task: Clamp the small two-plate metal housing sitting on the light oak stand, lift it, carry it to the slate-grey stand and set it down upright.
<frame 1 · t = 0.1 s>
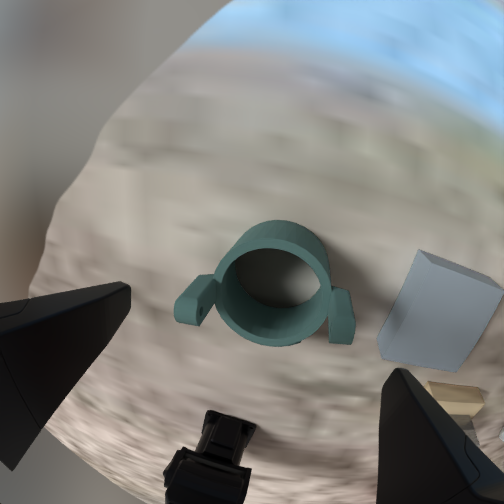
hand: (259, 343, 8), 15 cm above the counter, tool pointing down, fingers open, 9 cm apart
housing: (439, 427, 22), point 3 cm above the counter, touching stand oak
stand oak: (434, 409, 25), on the counter
stand slate: (436, 308, 21), on the counter
bracket: (279, 272, 24), on the counter
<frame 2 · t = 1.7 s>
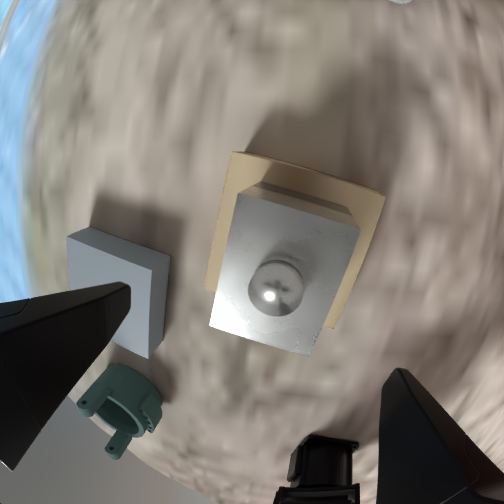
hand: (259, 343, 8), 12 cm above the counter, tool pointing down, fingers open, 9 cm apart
housing: (288, 246, 17), point 3 cm above the counter, touching stand oak
stand oak: (292, 232, 19), on the counter
stand slate: (123, 285, 24), on the counter
bracket: (136, 388, 30), on the counter
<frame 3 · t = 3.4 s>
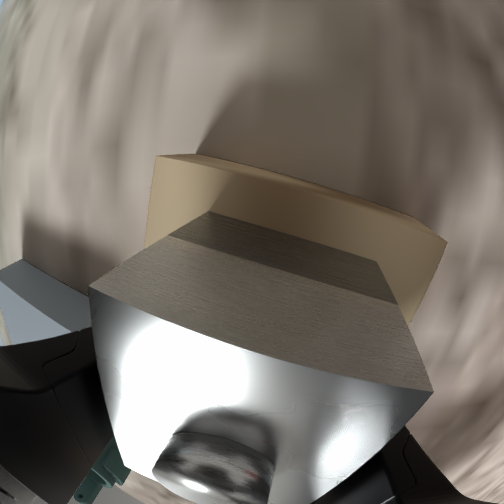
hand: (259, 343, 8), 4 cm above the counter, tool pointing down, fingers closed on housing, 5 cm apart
housing: (264, 328, 9), point 3 cm above the counter, touching gripper, stand oak
stand oak: (276, 287, 12), on the counter
stand slate: (65, 333, 17), on the counter
bracket: (103, 435, 22), on the counter
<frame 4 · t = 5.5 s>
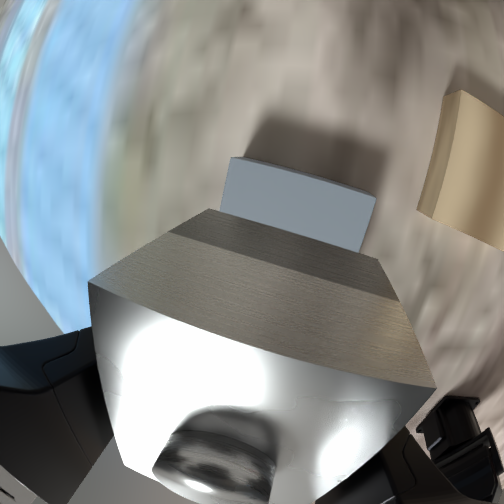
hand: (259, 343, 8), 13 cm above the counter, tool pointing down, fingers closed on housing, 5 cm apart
housing: (264, 326, 9), point 12 cm above the counter, touching gripper
stand oak: (478, 174, 16), on the counter
stand slate: (289, 233, 20), on the counter
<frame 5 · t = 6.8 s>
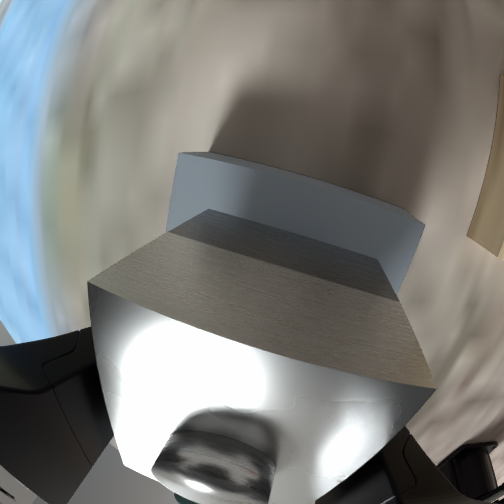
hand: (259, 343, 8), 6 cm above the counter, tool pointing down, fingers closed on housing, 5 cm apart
housing: (264, 326, 9), point 5 cm above the counter, touching gripper
stand slate: (279, 269, 13), on the counter
when the fingers open (5 cm above the counter, at t = 7.8 s): housing stays where it is, resting on stand slate.
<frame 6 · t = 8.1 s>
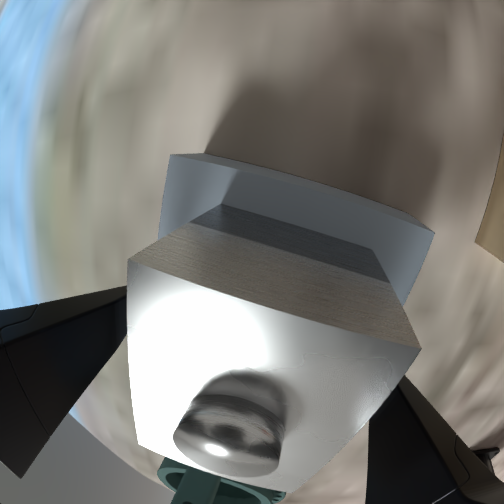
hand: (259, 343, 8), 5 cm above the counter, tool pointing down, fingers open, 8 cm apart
housing: (270, 312, 10), point 3 cm above the counter, touching stand slate
stand slate: (278, 278, 13), on the counter
bracket: (236, 442, 18), on the counter
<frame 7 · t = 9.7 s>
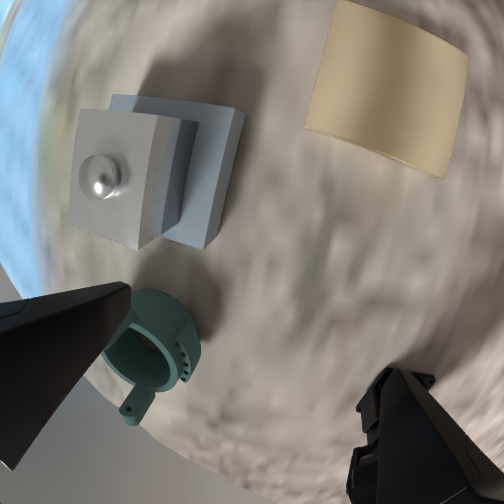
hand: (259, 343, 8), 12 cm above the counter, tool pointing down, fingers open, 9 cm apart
housing: (153, 165, 17), point 3 cm above the counter, touching stand slate
stand oak: (385, 90, 15), on the counter
stand slate: (172, 162, 20), on the counter
bracket: (163, 326, 26), on the counter
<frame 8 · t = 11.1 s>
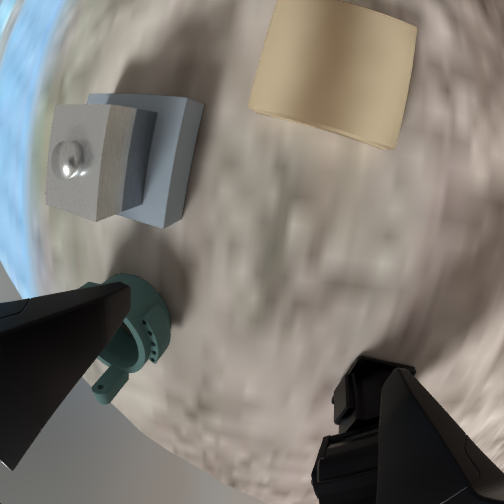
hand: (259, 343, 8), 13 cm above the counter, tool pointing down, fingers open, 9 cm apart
housing: (121, 153, 18), point 3 cm above the counter, touching stand slate
stand oak: (335, 71, 16), on the counter
stand slate: (142, 152, 21), on the counter
bracket: (139, 310, 26), on the counter
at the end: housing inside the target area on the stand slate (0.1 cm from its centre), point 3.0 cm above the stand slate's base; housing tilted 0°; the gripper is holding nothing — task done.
